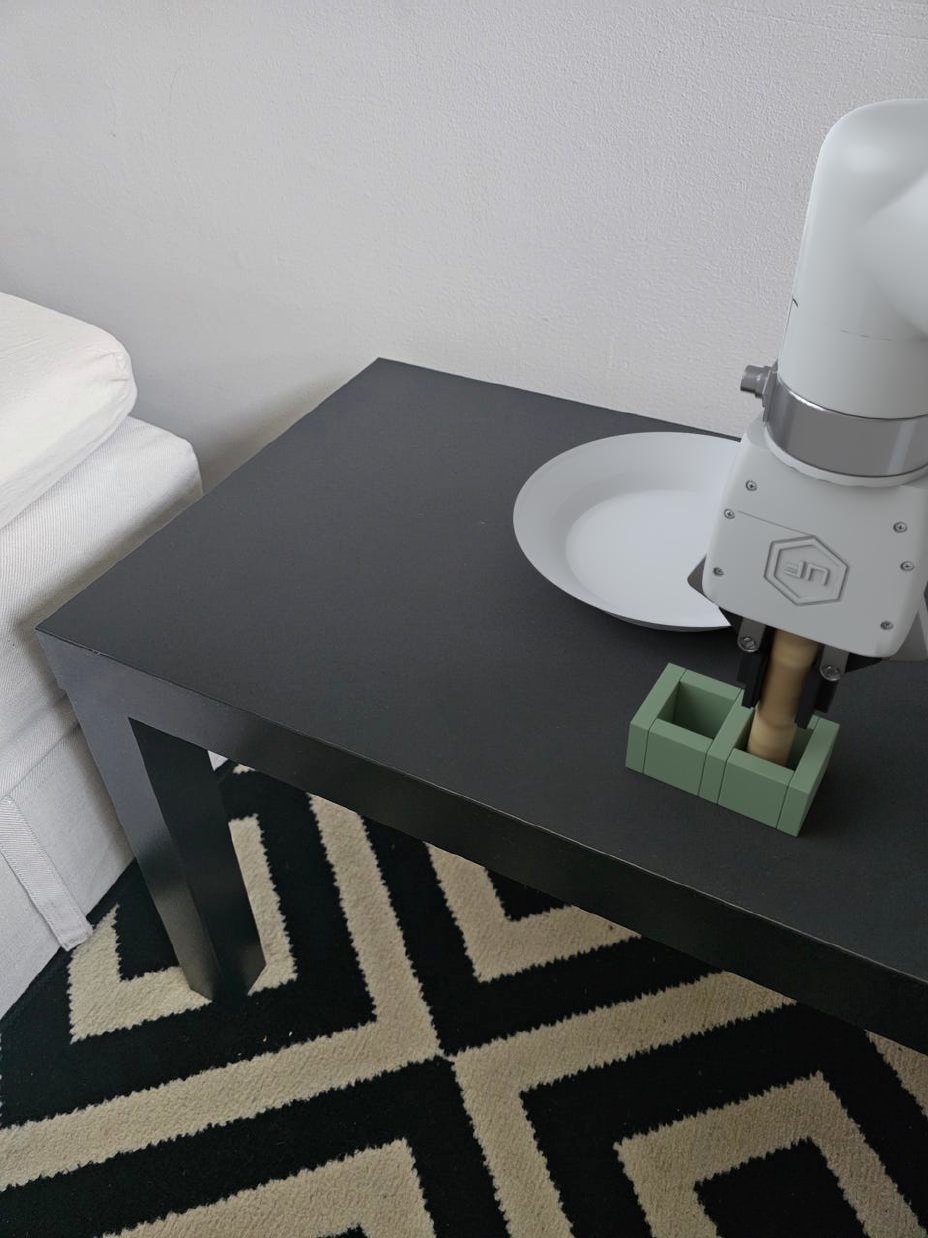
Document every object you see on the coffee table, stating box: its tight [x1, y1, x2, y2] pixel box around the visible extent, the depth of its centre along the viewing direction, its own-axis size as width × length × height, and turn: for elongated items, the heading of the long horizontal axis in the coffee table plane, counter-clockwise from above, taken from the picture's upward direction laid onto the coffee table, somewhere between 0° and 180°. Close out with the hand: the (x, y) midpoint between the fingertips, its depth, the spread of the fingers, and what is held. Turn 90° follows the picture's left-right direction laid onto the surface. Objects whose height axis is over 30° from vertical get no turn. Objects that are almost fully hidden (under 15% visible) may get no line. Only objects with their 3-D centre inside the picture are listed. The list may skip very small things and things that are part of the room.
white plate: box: [512, 431, 741, 632], centre depth 77 cm, size 25×25×4 cm
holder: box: [625, 662, 841, 838], centre depth 61 cm, size 11×6×4 cm, turn 59°
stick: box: [746, 628, 822, 768], centre depth 57 cm, size 2×2×13 cm
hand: (781, 700), depth 57 cm, fingers closed on stick, 2 cm apart
